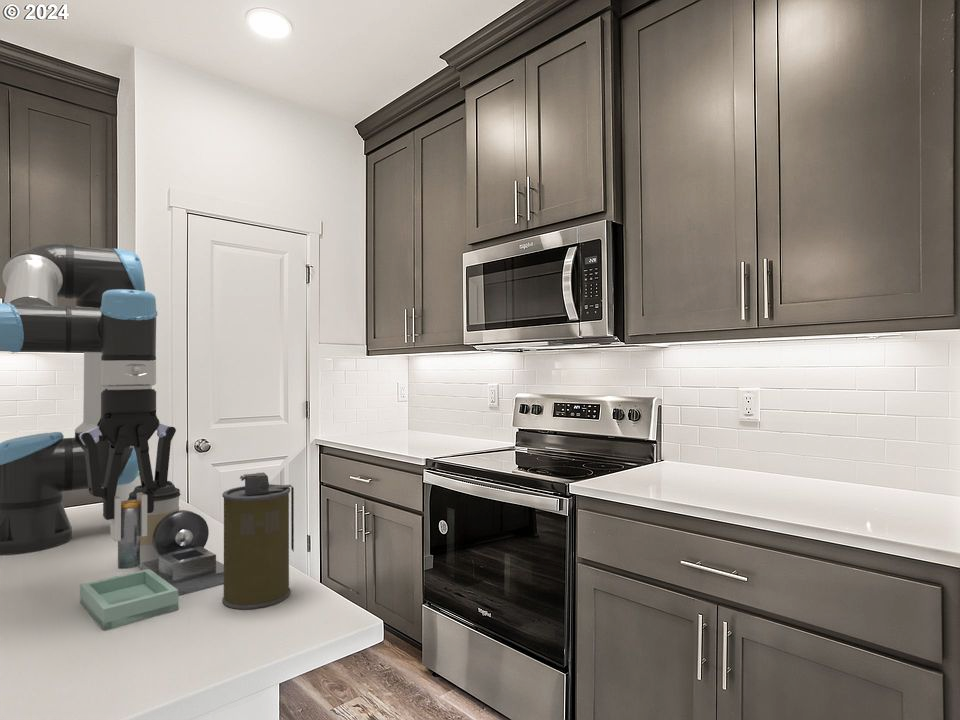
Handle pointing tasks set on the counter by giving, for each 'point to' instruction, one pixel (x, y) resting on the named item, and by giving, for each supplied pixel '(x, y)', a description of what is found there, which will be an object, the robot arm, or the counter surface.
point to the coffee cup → (156, 516)
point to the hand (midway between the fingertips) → (128, 536)
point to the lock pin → (129, 535)
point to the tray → (128, 598)
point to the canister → (257, 543)
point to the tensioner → (184, 553)
